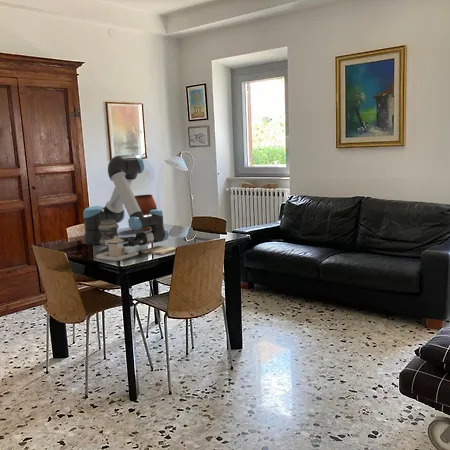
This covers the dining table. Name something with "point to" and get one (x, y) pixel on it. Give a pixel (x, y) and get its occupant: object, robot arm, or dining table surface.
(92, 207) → the robot arm
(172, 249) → the oak board
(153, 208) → the goblet
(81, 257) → the dining table surface
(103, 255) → the cup dock
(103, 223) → the apothecary jar
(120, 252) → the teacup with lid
